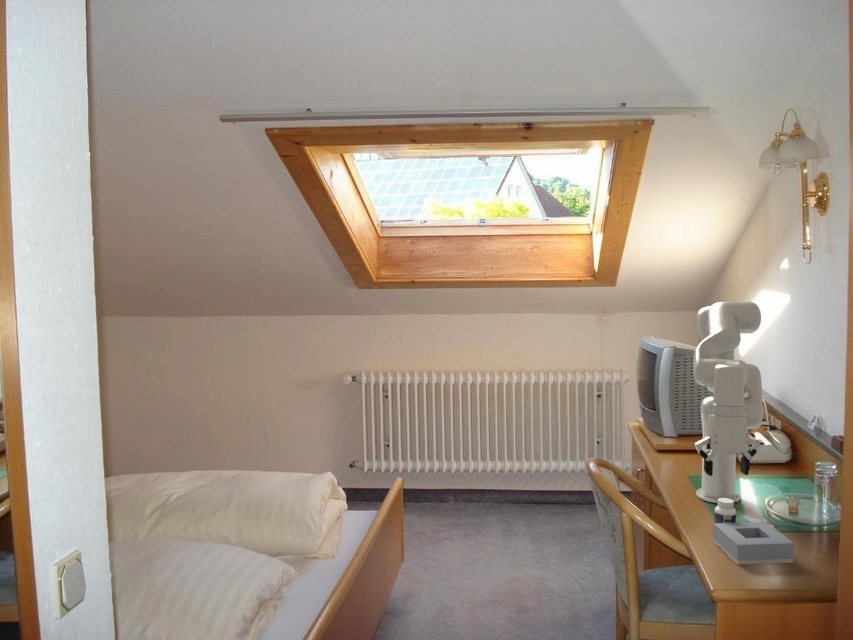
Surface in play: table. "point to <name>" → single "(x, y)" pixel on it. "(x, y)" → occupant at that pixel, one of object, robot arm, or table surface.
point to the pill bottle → (725, 511)
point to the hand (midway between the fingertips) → (726, 473)
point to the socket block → (753, 543)
